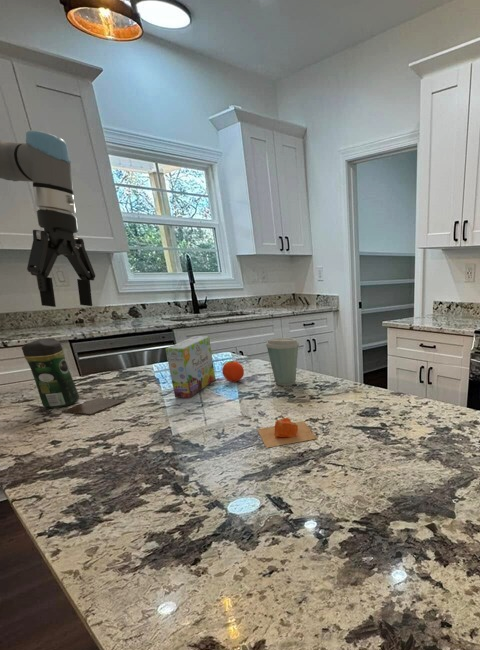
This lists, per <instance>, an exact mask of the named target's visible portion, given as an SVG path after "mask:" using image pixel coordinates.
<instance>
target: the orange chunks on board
mask: <svg viewBox="0 0 480 650" xmlns="http://www.w3.org/2000/svg"><path fill="white" fill-rule="evenodd" d="M274 422H275V424H274V425H273V426H267V427H260V428H257V432H258V434H259V436H260V439H261V440H262V442H263V444H264V446H265V448H266V449H268V448H273V447H279V446H284V445H290V444H294V443H299V442H300V443H301V442H306V441H310V440H315V439H318V437H317V435H316V434H315V433H314V432H313V431H312V430H311V428H310V427H309V425H308V424H307V423H306V421H304V420H302V421H296V422H292V421H291V419H290V417H283V418H282V419H276V421H274Z"/></svg>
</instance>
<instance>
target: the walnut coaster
mask: <svg viewBox="0 0 480 650" xmlns="http://www.w3.org/2000/svg"><path fill="white" fill-rule="evenodd" d="M125 402H126V399H116V398H115V399H114V398H105V397H97V398H93V399H90V400H89V401H86V402H83V403H79V404H78V405H75V406H72V407H68V408H66V409H63V410H61V413H66V414H75V415H85V416H93V415H95V414H98V413H100V412H104V411H105V410H107V409H110V408H113V407H116V406H118V405H121V404H123V403H125Z"/></svg>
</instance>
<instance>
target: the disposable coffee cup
mask: <svg viewBox="0 0 480 650" xmlns="http://www.w3.org/2000/svg"><path fill="white" fill-rule="evenodd" d="M299 343H300V342H299V341H298V340H297V338H291V337H275V338H274V337H273V338H268V339H267V341H266V342H265V347H266V349H267V354H268V358H269V361H270V365H271V370H272V374H273V378H274V382H275V384H276V385H278V386H283V387H285V386H292V385H294V384H295V383H296V380H297V379H296V378H297V367H298V355H299V354H298V353H299V346H300V344H299Z"/></svg>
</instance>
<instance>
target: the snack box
mask: <svg viewBox="0 0 480 650" xmlns="http://www.w3.org/2000/svg"><path fill="white" fill-rule="evenodd" d="M211 347H212V346H211V341H210V336H209V335H208V336H206V335H200V336H198V335H195V336H191V337H189V338H187V339H185V340H182V341H180V342H178V343H176V344H172V345H171V346H168V347H166V348H165V354H166V359H167V364H168V369H169V374H170V379H171V385H172V389H173V395H174V398H185V399H186V398H189V399H190V398H193V397H194V396H195V395H197V394H198V393H199V392H200V391H202V390H203V389H204V388H206V387H207V386H209V385H210V384H212V383H213V382H214V381H215V380H216V379H217V378H216V373H215V367H214V361H213V354H212V348H211Z"/></svg>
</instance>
